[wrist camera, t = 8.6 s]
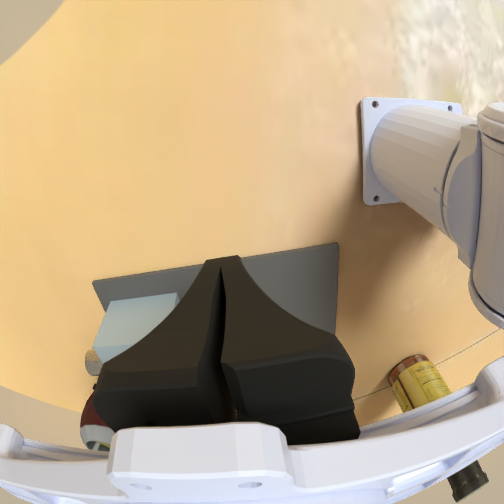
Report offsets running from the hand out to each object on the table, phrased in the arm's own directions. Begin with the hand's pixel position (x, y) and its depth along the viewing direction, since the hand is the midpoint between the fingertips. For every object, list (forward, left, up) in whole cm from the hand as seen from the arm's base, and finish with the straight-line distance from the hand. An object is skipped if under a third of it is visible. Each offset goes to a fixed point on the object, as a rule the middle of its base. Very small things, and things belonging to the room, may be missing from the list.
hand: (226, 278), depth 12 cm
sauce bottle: (-19, +25, -10) cm, 33 cm away
